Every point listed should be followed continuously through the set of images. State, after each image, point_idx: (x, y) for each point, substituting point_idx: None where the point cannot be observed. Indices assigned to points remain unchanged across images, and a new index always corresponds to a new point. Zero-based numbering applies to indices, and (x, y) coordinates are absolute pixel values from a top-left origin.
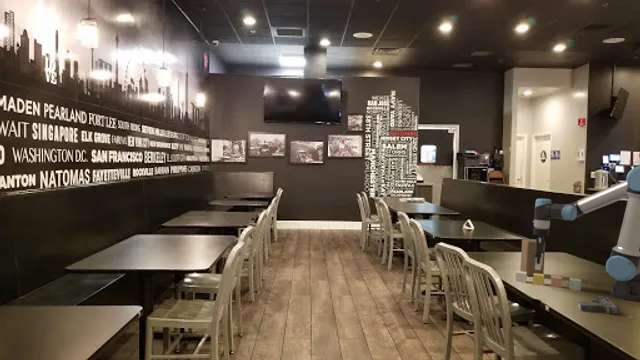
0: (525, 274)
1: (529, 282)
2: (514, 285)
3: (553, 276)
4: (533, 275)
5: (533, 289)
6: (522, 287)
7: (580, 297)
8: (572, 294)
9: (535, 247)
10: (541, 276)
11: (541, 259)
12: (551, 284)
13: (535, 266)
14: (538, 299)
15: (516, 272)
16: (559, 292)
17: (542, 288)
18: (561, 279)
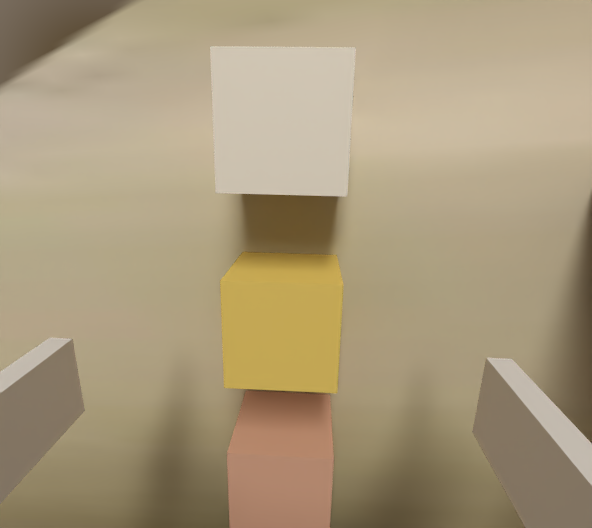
0: (218, 185)
1: (288, 219)
2: (43, 84)
3: (286, 472)
4: (221, 280)
5: (26, 264)
6: (22, 168)
7: None
8: (97, 509)
9: None
10: (224, 362)
11: (528, 513)
12: (242, 406)
13: (12, 371)
14: None
15: (216, 54)
16: (88, 440)
17: (124, 331)
18: (230, 522)
